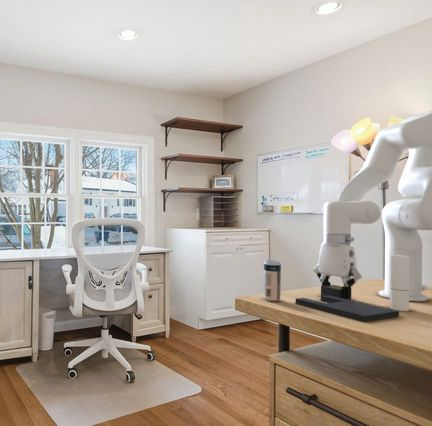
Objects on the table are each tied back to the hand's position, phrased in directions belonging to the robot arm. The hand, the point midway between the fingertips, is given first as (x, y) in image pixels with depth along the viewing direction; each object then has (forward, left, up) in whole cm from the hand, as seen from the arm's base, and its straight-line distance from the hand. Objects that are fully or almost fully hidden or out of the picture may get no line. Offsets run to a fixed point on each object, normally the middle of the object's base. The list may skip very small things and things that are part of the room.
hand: (335, 296), depth 119 cm
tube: (-4, +16, -1) cm, 17 cm away
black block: (0, 0, -1) cm, 1 cm away
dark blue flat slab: (+12, +11, -1) cm, 16 cm away
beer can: (+22, -5, -1) cm, 23 cm away
